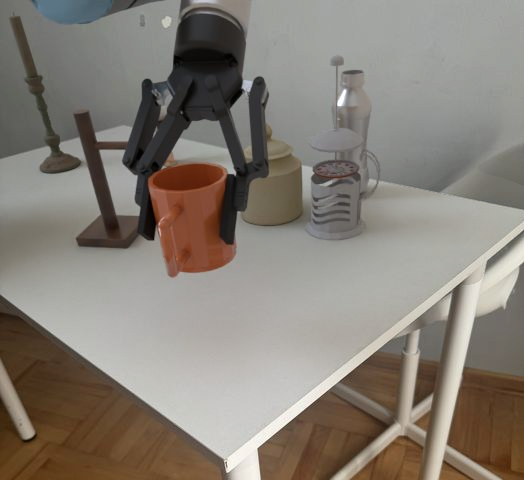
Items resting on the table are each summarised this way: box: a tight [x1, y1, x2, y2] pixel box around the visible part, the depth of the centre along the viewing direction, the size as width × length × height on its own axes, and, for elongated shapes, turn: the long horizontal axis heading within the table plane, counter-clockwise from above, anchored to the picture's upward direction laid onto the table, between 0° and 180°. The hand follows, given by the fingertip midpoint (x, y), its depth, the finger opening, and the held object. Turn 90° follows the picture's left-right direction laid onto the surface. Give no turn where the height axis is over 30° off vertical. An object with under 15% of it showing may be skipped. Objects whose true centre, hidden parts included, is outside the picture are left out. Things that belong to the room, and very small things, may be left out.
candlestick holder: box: [8, 11, 81, 174], centre depth 113 cm, size 9×9×30 cm
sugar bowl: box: [240, 123, 304, 226], centre depth 91 cm, size 15×11×15 cm
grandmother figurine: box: [156, 104, 178, 167], centre depth 114 cm, size 8×4×13 cm, turn 37°
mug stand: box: [72, 108, 140, 249], centre depth 85 cm, size 14×9×20 cm, turn 77°
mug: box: [148, 161, 238, 278], centre depth 56 cm, size 12×8×9 cm, turn 167°
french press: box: [305, 54, 382, 241], centre depth 80 cm, size 10×12×25 cm
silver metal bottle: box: [331, 69, 372, 195], centre depth 92 cm, size 6×7×20 cm
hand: (185, 238), depth 56 cm, fingers closed on mug, 8 cm apart
